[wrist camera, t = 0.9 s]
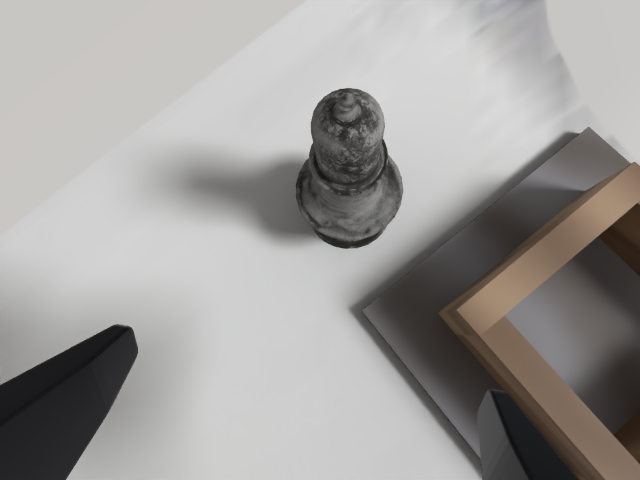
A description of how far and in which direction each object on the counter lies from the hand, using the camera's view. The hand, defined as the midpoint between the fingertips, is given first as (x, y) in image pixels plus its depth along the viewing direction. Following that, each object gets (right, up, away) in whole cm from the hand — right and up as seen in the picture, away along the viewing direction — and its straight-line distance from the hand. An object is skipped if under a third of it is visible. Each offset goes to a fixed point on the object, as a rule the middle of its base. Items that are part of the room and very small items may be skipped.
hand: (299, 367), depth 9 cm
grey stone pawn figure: (+2, +5, +15) cm, 16 cm away
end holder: (+15, -2, +12) cm, 19 cm away
